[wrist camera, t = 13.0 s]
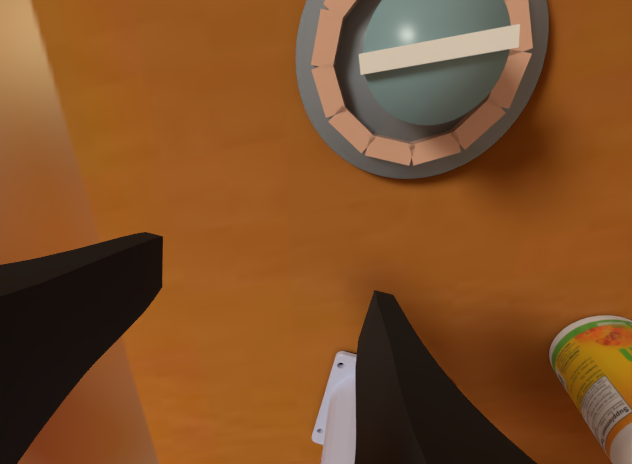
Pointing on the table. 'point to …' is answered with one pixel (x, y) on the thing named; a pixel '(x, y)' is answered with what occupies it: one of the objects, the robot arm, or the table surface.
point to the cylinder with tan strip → (436, 56)
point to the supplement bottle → (599, 378)
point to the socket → (380, 126)
